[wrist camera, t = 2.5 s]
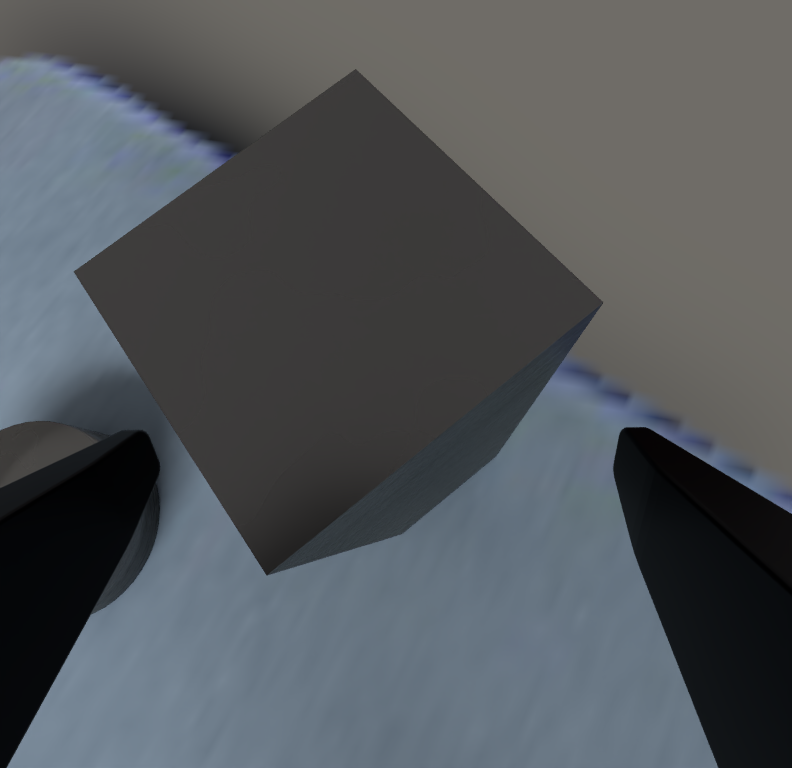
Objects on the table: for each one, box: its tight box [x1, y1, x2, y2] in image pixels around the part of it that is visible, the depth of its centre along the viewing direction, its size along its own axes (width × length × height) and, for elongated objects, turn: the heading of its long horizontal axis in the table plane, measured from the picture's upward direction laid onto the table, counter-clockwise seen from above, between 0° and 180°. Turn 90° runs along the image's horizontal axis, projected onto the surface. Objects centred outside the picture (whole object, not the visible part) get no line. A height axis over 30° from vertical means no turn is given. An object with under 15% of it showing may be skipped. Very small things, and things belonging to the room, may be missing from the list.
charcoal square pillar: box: [74, 69, 603, 575], centre depth 12 cm, size 4×4×13 cm
